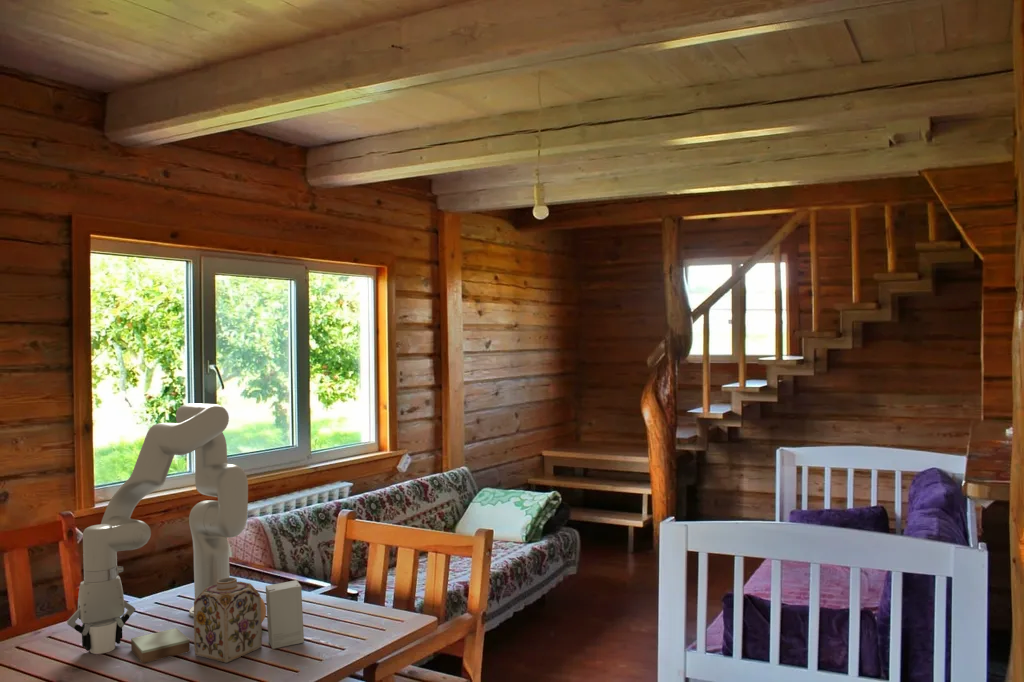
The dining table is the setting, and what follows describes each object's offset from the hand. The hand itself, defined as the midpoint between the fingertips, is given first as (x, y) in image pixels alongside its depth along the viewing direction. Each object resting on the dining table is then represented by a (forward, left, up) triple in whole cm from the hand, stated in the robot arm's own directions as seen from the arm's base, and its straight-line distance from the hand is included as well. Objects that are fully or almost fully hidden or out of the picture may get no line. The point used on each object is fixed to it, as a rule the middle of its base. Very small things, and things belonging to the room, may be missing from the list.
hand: (102, 645), depth 206 cm
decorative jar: (-24, +23, -1) cm, 33 cm away
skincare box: (-37, +27, -1) cm, 46 cm away
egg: (-35, +10, -1) cm, 36 cm away
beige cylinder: (0, 0, -1) cm, 1 cm away
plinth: (-11, +11, -1) cm, 16 cm away
